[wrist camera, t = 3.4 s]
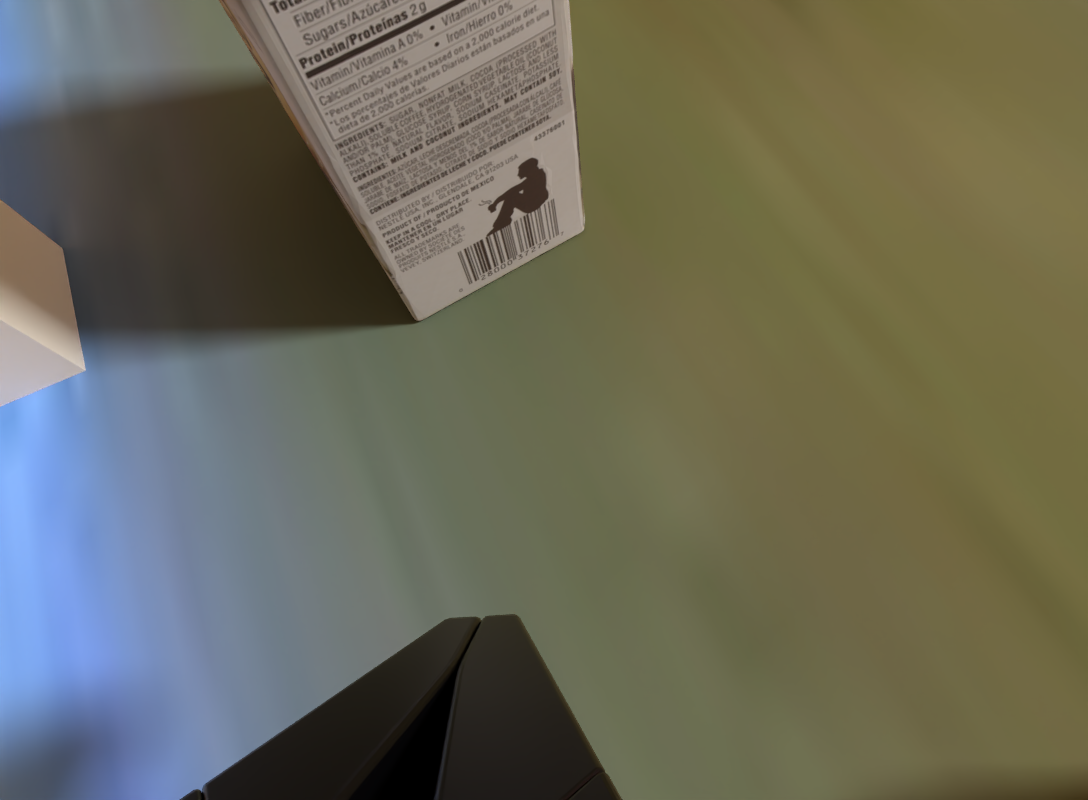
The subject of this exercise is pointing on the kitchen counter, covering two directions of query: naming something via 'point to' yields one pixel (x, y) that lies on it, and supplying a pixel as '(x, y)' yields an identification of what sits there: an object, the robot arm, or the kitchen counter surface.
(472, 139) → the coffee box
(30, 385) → the cream block
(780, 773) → the kitchen counter surface
